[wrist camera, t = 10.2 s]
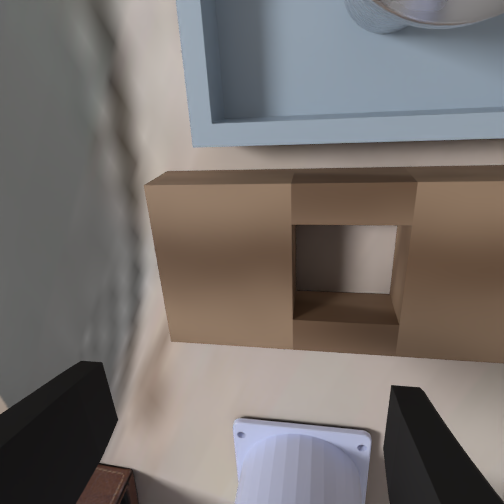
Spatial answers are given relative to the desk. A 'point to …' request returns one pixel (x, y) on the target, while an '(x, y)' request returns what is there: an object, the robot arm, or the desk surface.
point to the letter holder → (110, 487)
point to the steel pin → (420, 13)
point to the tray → (334, 76)
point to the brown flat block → (333, 303)
